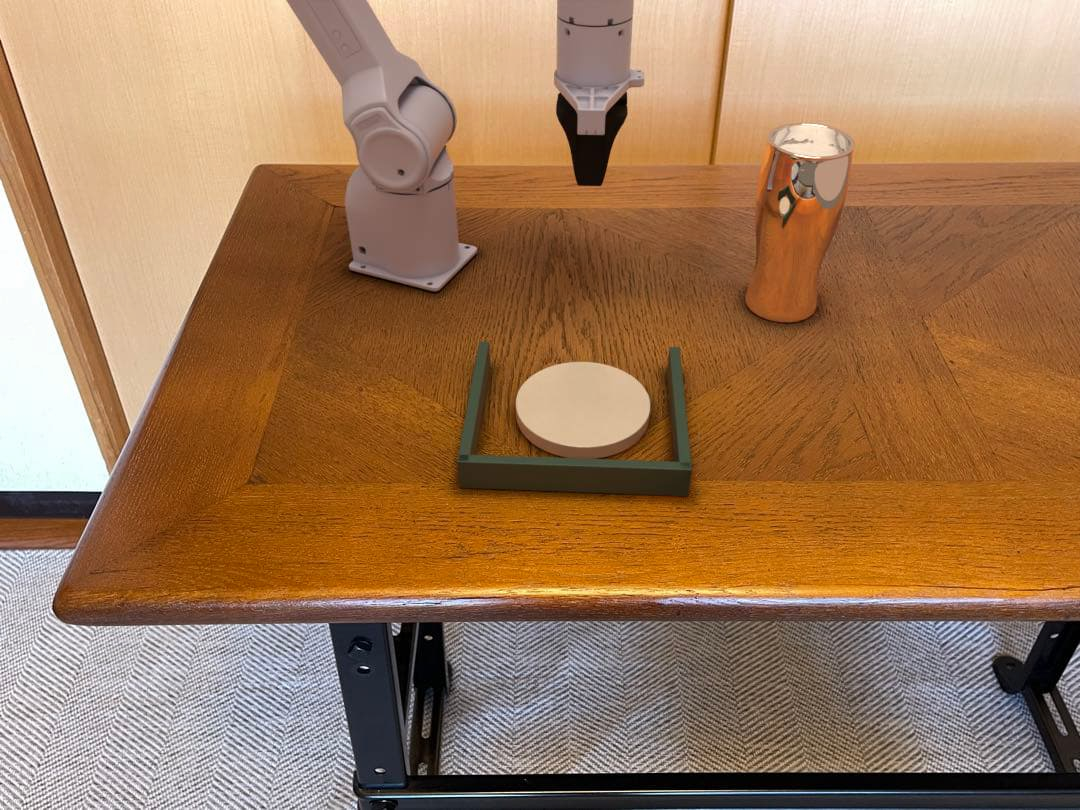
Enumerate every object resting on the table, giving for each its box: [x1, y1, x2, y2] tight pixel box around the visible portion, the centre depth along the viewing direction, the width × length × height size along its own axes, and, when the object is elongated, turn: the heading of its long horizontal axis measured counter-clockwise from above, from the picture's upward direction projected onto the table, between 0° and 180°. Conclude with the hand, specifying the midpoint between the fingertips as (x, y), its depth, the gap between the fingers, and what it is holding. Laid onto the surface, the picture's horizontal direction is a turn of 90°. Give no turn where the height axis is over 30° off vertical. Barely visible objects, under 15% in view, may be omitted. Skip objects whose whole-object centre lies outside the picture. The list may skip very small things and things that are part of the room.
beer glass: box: [744, 122, 856, 324], centre depth 76 cm, size 7×7×15 cm
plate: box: [515, 361, 651, 459], centre depth 69 cm, size 10×10×1 cm
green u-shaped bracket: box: [456, 341, 693, 497], centre depth 67 cm, size 14×16×2 cm
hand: (589, 182), depth 78 cm, fingers closed
